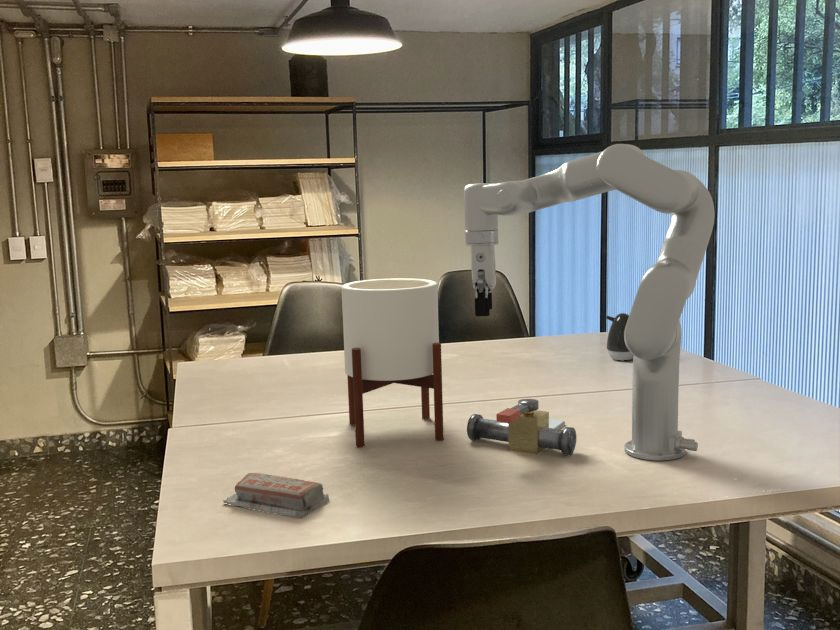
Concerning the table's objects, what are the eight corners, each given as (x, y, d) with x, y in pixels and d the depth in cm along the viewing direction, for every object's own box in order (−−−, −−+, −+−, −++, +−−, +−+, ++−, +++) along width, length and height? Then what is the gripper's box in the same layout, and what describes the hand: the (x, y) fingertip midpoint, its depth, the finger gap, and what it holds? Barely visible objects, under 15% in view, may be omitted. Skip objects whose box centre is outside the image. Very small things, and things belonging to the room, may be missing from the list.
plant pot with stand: (449, 441, 195) (445, 287, 190) (352, 449, 192) (345, 292, 186) (432, 415, 217) (428, 276, 212) (344, 422, 214) (338, 280, 208)
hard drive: (533, 416, 210) (512, 430, 199) (565, 420, 206) (545, 434, 195) (533, 423, 210) (512, 436, 199) (565, 427, 206) (545, 441, 195)
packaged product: (330, 477, 161) (299, 495, 152) (331, 502, 162) (301, 521, 153) (254, 465, 169) (221, 482, 160) (255, 489, 170) (222, 506, 161)
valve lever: (523, 404, 190) (523, 397, 190) (541, 407, 188) (541, 400, 188) (493, 421, 178) (493, 413, 178) (512, 423, 176) (512, 416, 176)
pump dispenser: (604, 356, 282) (604, 310, 279) (637, 356, 280) (637, 310, 278) (607, 362, 272) (607, 315, 269) (640, 362, 270) (641, 315, 268)
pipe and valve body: (576, 450, 186) (576, 411, 184) (565, 458, 181) (565, 418, 180) (479, 436, 199) (479, 399, 197) (467, 443, 194) (466, 405, 192)
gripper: (496, 240, 184) (498, 318, 187) (500, 235, 201) (502, 306, 204) (461, 241, 185) (464, 319, 188) (468, 236, 202) (470, 307, 205)
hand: (483, 312), depth 196 cm, fingers open, 9 cm apart
